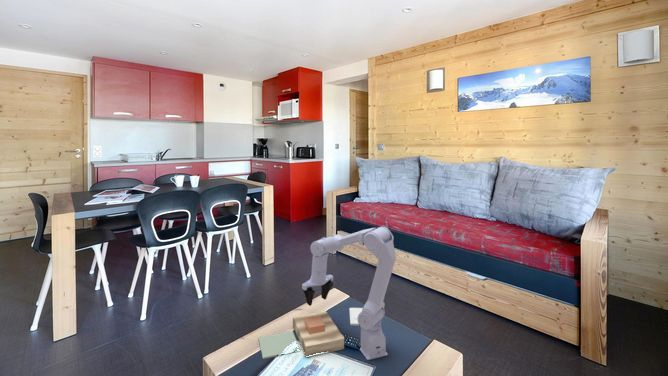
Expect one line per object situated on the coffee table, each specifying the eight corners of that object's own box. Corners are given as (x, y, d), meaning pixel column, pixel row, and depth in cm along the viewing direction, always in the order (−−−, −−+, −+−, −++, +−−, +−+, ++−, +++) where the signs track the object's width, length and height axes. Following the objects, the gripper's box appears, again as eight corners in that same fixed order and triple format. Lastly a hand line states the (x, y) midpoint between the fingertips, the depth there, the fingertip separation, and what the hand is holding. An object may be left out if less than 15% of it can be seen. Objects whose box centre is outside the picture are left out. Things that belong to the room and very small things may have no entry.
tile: (325, 331, 114) (325, 324, 114) (309, 334, 112) (309, 327, 112) (319, 321, 121) (319, 315, 121) (304, 324, 119) (304, 317, 119)
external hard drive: (367, 311, 138) (370, 327, 125) (349, 311, 138) (350, 327, 125) (367, 308, 137) (370, 323, 125) (349, 307, 137) (350, 323, 125)
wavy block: (344, 348, 111) (344, 338, 110) (306, 357, 106) (306, 346, 105) (325, 319, 129) (325, 310, 129) (292, 326, 124) (292, 316, 124)
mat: (300, 351, 109) (300, 349, 109) (262, 359, 105) (262, 357, 105) (292, 332, 120) (292, 330, 120) (258, 339, 116) (258, 337, 116)
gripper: (326, 261, 129) (323, 291, 131) (298, 270, 119) (295, 302, 121) (337, 267, 124) (335, 299, 126) (309, 277, 114) (307, 310, 116)
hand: (316, 301), depth 123 cm, fingers open, 7 cm apart
